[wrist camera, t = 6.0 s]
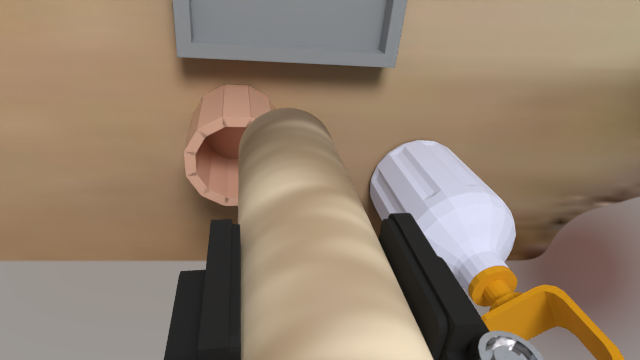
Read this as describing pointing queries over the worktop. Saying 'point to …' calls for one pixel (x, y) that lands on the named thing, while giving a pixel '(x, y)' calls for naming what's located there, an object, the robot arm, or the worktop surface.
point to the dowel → (312, 253)
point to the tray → (291, 30)
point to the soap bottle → (475, 241)
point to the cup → (221, 139)
